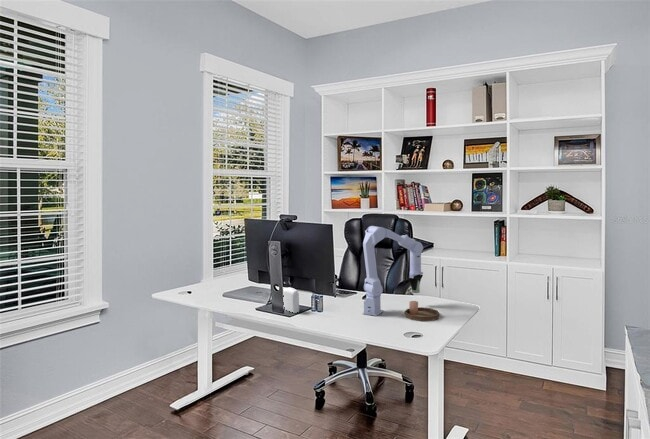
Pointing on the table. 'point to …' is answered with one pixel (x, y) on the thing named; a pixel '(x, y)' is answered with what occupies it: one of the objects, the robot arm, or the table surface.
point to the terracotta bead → (413, 307)
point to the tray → (423, 314)
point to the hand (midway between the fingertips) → (415, 289)
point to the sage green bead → (417, 288)
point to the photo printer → (291, 299)
